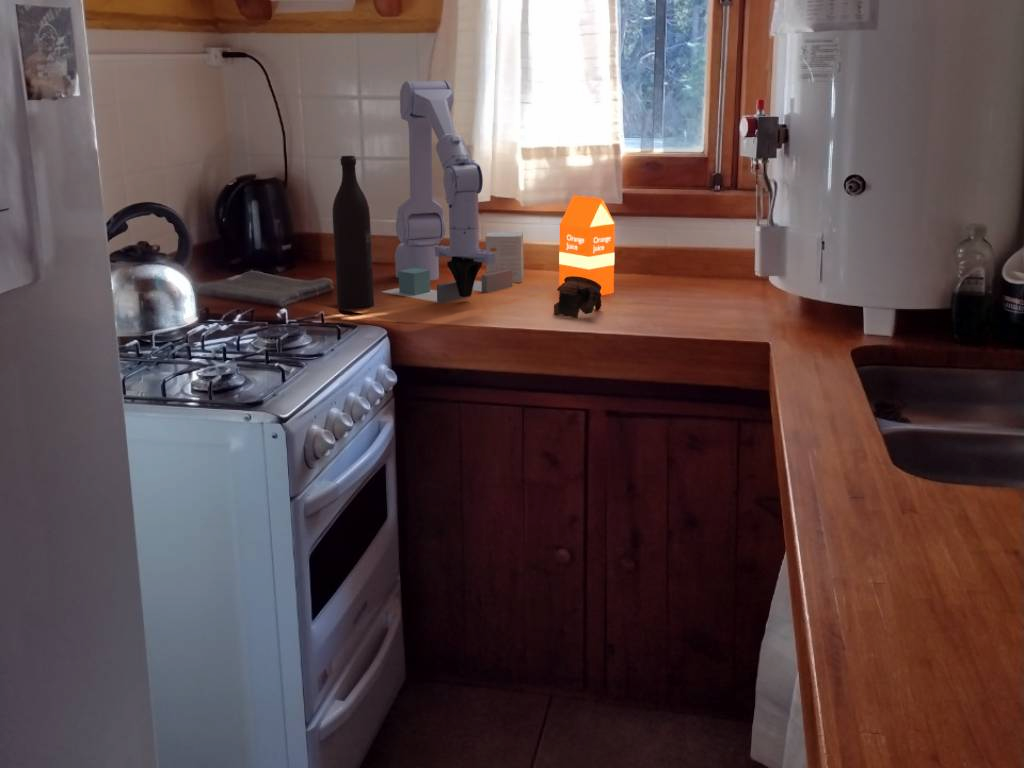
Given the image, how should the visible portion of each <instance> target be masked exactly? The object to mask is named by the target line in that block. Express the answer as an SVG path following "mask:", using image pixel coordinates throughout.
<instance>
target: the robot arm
mask: <svg viewBox="0 0 1024 768" xmlns="http://www.w3.org/2000/svg"><path fill="white" fill-rule="evenodd" d="M453 104H454V90H453V87H452V85H451V83H450V82H449V81H448V80H440V81H439V80H438V81H437V80H436V81H429V80H428V81H427V80H426V81H409V80H406V81H404V82H403V84H402V85H401V88H400V90H399V108H400V109H399V110H400V118H401V120H404V121H406V122H407V125H408V143H409V144H408V145H409V147H408V149H409V150H408V151H409V153H408V154H409V194H410V195H409V198H408V199H407V200H406V201H405V202H403V203H402V204H400V205H399V206H398V209H397V215H396V216H397V217H396V221H395V222H396V223H395V230H396V236H397V238H398V240H399V241H400V243H399V244H398V246H397V247H396V250H395V252H394V260H395V261H394V263H395V277H396V278H398V279H399V271H401V270H407V269H412V268H418V269H424V270H430V282H431V281H436V280H439V278H440V276H439V275H440V272H439V271H440V270H439V266H440V265H439V258H440V257H444V258H448V259H449V258H451V260H450V261H447V262H446V266H447V267H448V268H449V271H450V272H451V274H452V276H453V279H454V281H456V284H457V288H458V292H459V295H460V296H461V297H467V296H470V297H471V296H472V293H473V290H472V289H473V285H474V281H476V278H477V275H478V273H479V271H480V269H481V267H482V266H483V263H484V264H485V265H486V264H492V263H495V253H492V252H488V251H486V249H485V250H484V249H482V248H480V234H479V233H480V230H479V228H480V227H479V194H480V193H481V192H482V189H483V186H484V184H483V182H484V180H483V178H484V177H483V176H484V175H483V172H482V167H481V165H480V164H479V163H478V162H476V160H475V159H471V155H470V153H469V151H468V148H467V145H466V142H465V140H464V138H463V137H462V136H461V135H460V134H457V133H456V131H455V126H454V122H453V119H452V115H451V114H452V113H451V112H452V109H453V108H452V107H453ZM432 132H434V134H435V136H436V138H437V140H438V141H437V143H436V146H435V151H436V153H437V156H438V158H439V162H440V164H441V167H442V170H443V182H442V183H443V188H444V192H445V201H446V204H448V227H449V228H448V230H449V231H448V233H449V245H447V246H446V245H439V244H441V241H442V240H443V239H444V238H445V236H446V233H447V232H446V231H447V230H446V229H447V225H446V219H445V214H444V211H445V210H444V208H443V206H442V205H441V204H440V203H438V202H437V201H436V200H434V199H433V148H432V147H433V140H432V139H433V136H432V134H433V133H432ZM467 298H468V297H467Z"/></svg>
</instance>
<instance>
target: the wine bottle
mask: <svg viewBox="0 0 1024 768" xmlns="http://www.w3.org/2000/svg"><path fill="white" fill-rule="evenodd" d="M339 160H340V165H341V172H342V173H341V174H342V175H341V183H340V185H339V188H338V190H337V193H336V194H335V197H334V200H333V205H332V228H333V230H332V231H333V245H334V263H335V264H334V265H335V280H336V283H335V284H336V297H337V298H336V299H337V310H338V313H339V314H342V315H345V316H364V313H363V312H357V311H352V310H365V309H369V308H373V307H374V306H375V299H374V298H375V297H374V275H373V274H374V273H373V255H372V253H373V252H372V234H371V214H370V207H369V203H368V200H367V197H366V196H365V193H364V192H363V190H362V189H361V186H360V185H359V183H358V180H357V173H356V165H357V159H356V156H355V155H341V158H340V159H339Z"/></svg>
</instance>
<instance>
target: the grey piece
mask: <svg viewBox="0 0 1024 768" xmlns="http://www.w3.org/2000/svg"><path fill="white" fill-rule="evenodd" d="M381 293H385V294H390V295H397V296H400V297H406V298H412V299H418V300H421V301H422V300H423V301H429V302H433V303H439V304H446V303H450V302H455V301H458V300H462V299H466V298H470V297H471V296H467V297H461V296H460V295H459V292H458V288H457V284H456V281H455V280H453V281H447V282H444V283H443V282H442V283H438V284H436V289H431V288H430V292H427V293H423V294H419V295H410V294H404V293H399V287H395V288H392V289H387V290H383V291H381Z"/></svg>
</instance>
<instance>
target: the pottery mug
mask: <svg viewBox="0 0 1024 768" xmlns="http://www.w3.org/2000/svg"><path fill="white" fill-rule="evenodd" d="M564 281H565V282H564V283H563V284H562V285H561V286H560V287H559V286H558V288H557V289H556V291H557V292H559V294H558V302H556V303H554V304H553V316H557V315H563V316H565V317H571V318H574V319H577V318H579V317H578V316H579V313H580V310H581V311H582V313H584V314H585V315H588V314H591V313H592V312H593V310H594V309H595V311H599V310H601V309H602V299H601V297H602V295H601V293H600V290H601V288H602V287H601V286H600V284H598V283H597V282H595V281H593V280H591V279H587V278H583V277H578V276H569V277H566V278H565V279H564Z"/></svg>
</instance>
